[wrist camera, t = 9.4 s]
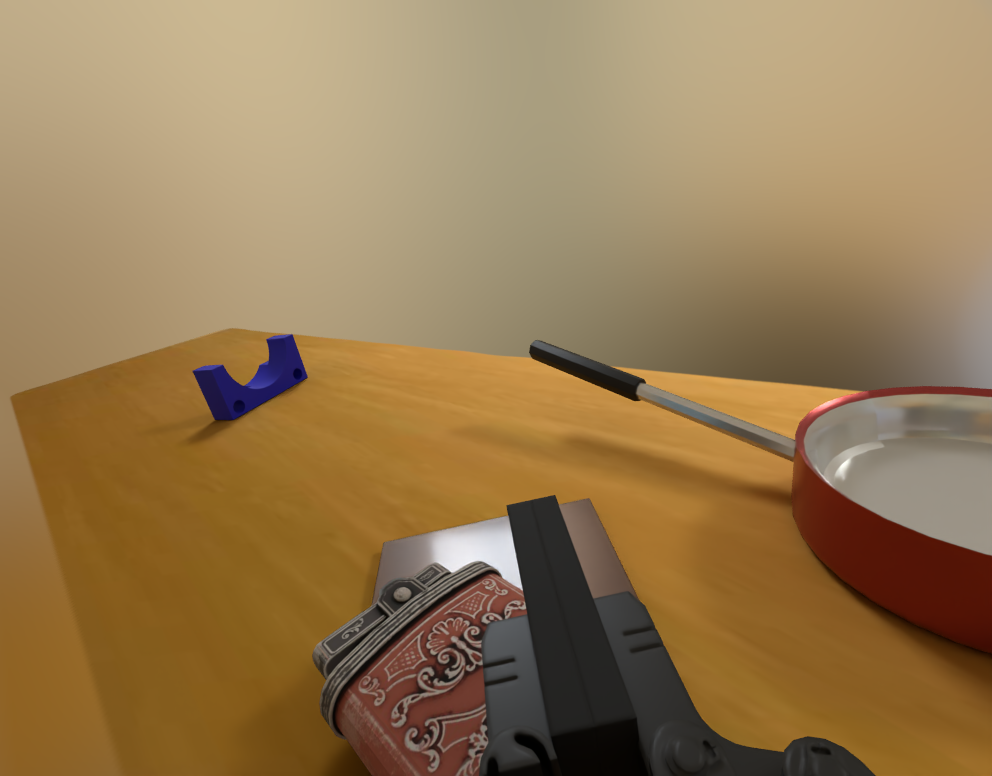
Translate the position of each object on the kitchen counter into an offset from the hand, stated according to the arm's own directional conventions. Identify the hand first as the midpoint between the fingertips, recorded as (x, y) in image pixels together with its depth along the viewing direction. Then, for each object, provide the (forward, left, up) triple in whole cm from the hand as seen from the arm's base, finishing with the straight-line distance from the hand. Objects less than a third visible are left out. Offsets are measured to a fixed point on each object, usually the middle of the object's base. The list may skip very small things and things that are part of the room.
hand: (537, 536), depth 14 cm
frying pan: (+12, +10, -8) cm, 18 cm away
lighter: (0, -4, -5) cm, 6 cm away
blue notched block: (-28, +44, -8) cm, 53 cm away
